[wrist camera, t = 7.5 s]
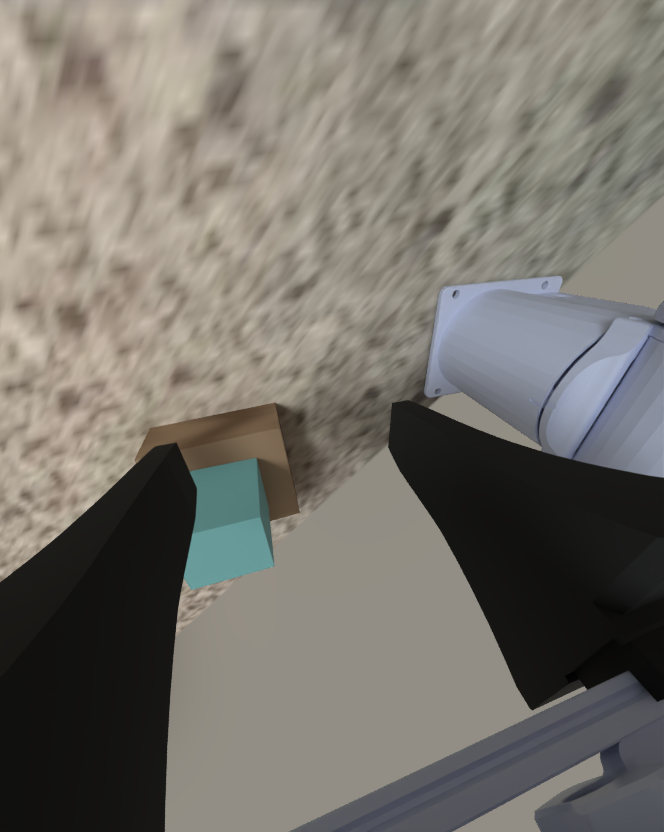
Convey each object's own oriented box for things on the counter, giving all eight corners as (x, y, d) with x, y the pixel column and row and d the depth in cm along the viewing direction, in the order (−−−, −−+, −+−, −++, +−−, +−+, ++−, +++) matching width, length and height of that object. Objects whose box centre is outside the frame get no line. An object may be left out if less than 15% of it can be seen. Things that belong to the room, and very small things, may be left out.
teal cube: (256, 457, 17) (260, 517, 14) (268, 505, 20) (274, 566, 16) (178, 473, 16) (160, 541, 13) (201, 521, 19) (191, 590, 15)
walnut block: (274, 400, 19) (279, 427, 16) (293, 480, 24) (299, 512, 21) (151, 425, 18) (134, 459, 15) (195, 505, 22) (188, 543, 20)
